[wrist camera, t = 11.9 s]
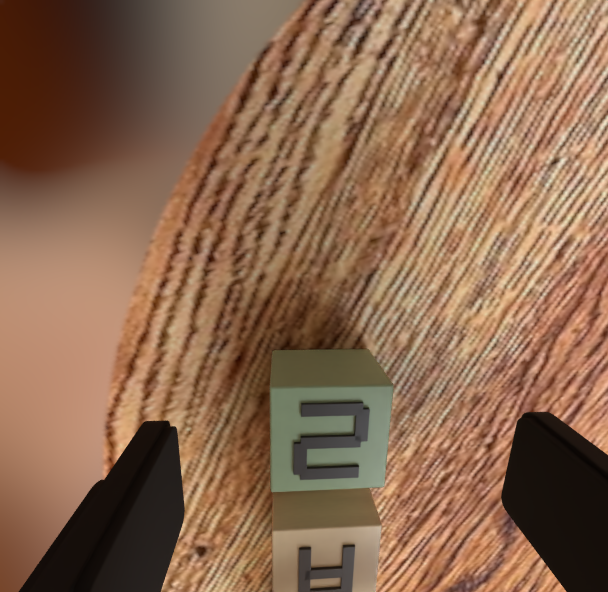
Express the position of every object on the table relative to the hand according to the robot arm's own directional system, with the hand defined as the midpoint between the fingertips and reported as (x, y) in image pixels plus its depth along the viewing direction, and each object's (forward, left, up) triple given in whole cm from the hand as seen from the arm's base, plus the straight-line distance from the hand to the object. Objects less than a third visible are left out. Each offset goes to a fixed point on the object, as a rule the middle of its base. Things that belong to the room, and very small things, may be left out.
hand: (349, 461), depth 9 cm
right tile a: (+5, -3, -5) cm, 8 cm away
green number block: (+1, -1, -5) cm, 5 cm away
